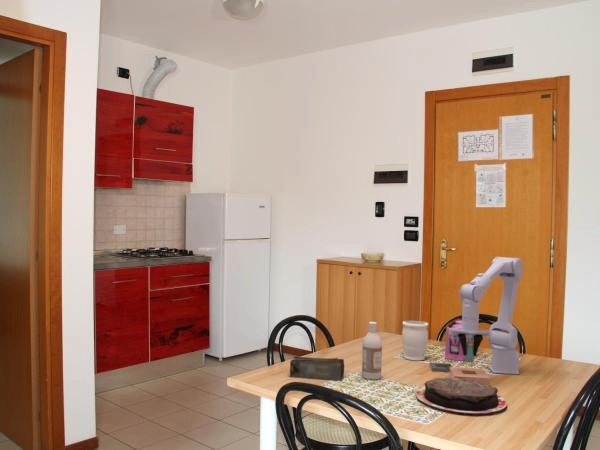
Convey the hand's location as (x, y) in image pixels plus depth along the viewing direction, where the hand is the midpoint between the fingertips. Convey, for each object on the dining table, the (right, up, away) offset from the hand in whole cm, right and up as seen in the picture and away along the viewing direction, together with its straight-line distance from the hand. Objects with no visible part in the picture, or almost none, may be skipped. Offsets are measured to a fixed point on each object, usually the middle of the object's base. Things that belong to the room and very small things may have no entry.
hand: (469, 355), depth 188 cm
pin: (0, -2, 0) cm, 2 cm away
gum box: (+8, -9, +38) cm, 40 cm away
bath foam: (-35, -8, +1) cm, 36 cm away
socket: (0, -9, 0) cm, 9 cm away
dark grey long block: (-55, -8, +1) cm, 56 cm away
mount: (-6, -9, +14) cm, 18 cm away
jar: (-14, -9, +29) cm, 33 cm away
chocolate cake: (-10, -10, -22) cm, 26 cm away
